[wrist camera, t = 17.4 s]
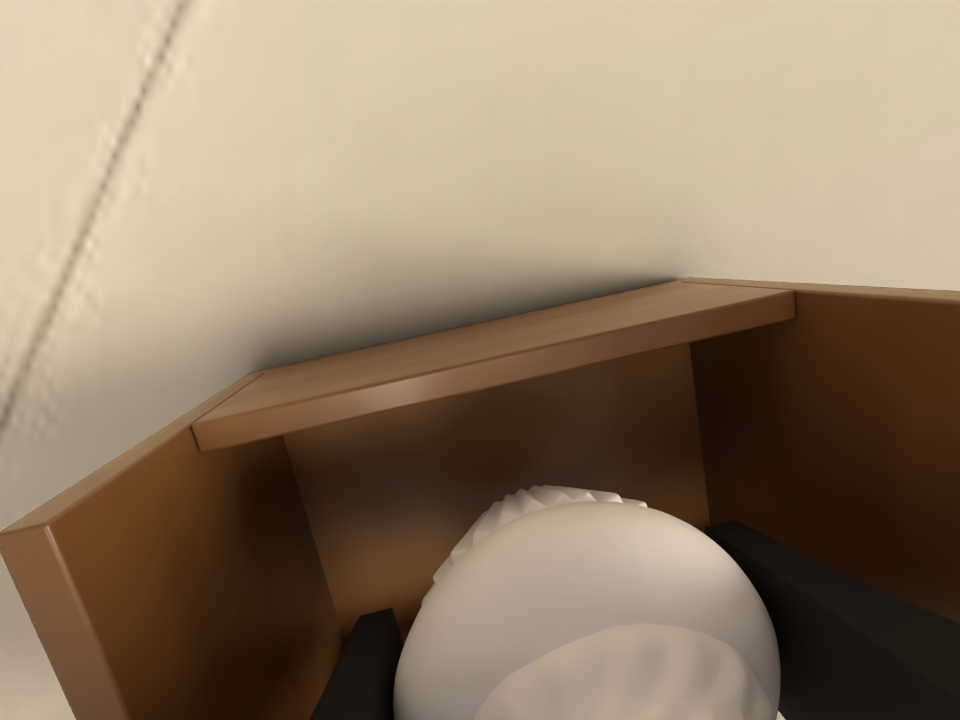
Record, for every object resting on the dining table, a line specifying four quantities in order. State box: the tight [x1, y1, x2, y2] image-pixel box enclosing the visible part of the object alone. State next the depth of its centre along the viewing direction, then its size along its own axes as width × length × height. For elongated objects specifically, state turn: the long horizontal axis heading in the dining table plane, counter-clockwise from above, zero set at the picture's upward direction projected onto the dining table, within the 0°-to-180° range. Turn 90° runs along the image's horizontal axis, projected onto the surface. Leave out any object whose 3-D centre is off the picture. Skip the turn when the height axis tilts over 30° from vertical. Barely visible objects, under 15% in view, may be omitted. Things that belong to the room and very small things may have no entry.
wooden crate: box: [0, 277, 960, 720], centre depth 11 cm, size 9×13×8 cm
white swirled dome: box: [393, 485, 781, 720], centre depth 8 cm, size 6×6×7 cm
